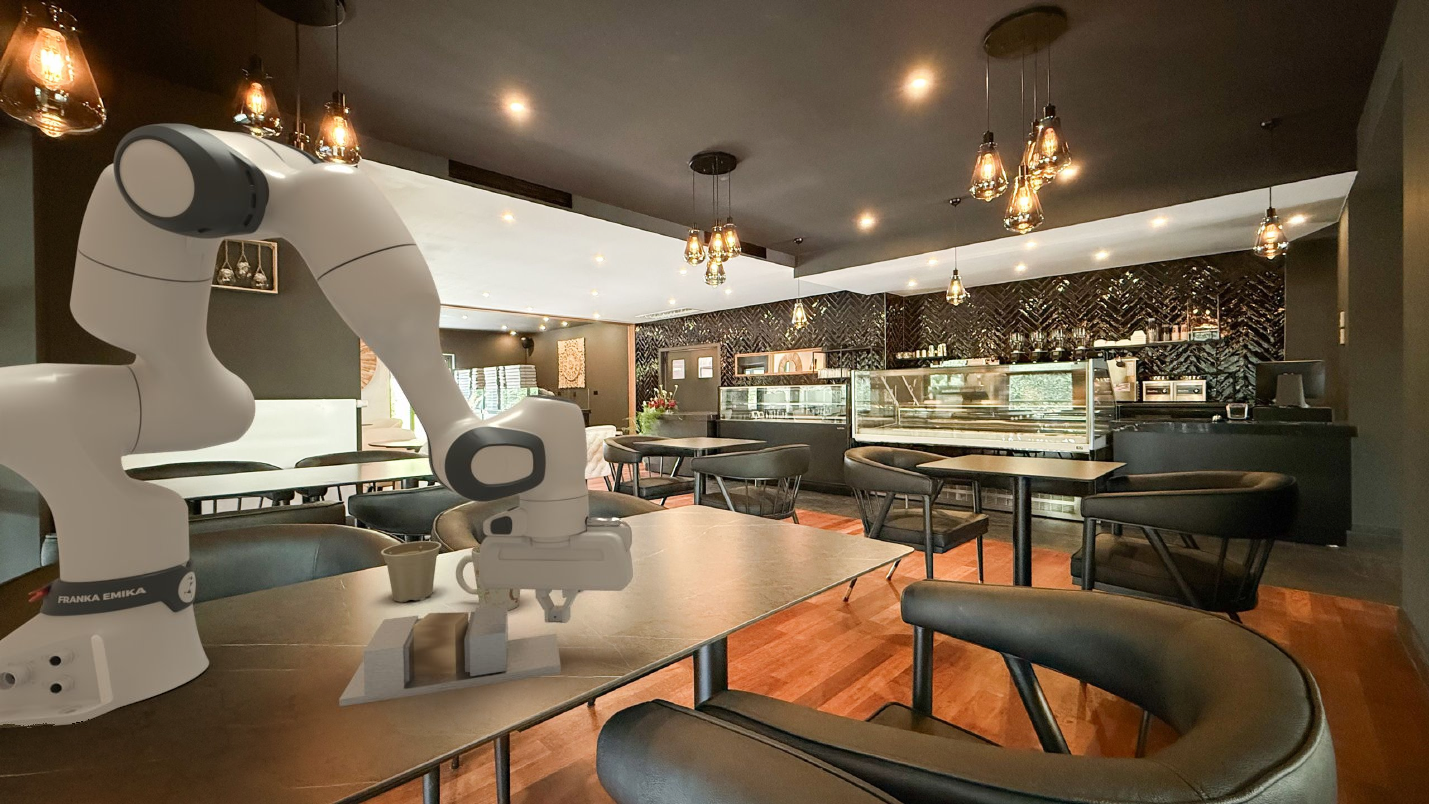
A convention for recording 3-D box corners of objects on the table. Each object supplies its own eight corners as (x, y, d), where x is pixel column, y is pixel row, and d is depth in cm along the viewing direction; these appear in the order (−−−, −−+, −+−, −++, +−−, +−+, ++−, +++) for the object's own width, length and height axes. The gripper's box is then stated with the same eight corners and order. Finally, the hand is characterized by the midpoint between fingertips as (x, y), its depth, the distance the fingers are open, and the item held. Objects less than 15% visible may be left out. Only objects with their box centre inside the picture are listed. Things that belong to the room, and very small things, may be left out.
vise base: (339, 710, 64) (338, 655, 64) (363, 670, 74) (361, 622, 74) (560, 674, 72) (559, 624, 72) (556, 642, 81) (555, 598, 81)
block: (414, 674, 70) (413, 625, 70) (430, 659, 74) (429, 613, 74) (455, 673, 70) (454, 624, 70) (469, 658, 74) (468, 612, 74)
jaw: (464, 677, 68) (464, 637, 68) (472, 643, 78) (471, 608, 78) (505, 670, 70) (505, 632, 70) (507, 638, 79) (507, 604, 79)
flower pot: (425, 605, 97) (424, 554, 97) (370, 606, 97) (369, 555, 97) (451, 587, 106) (450, 540, 106) (401, 587, 106) (400, 541, 106)
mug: (508, 617, 91) (507, 554, 91) (438, 612, 93) (437, 551, 93) (535, 599, 99) (534, 541, 99) (470, 595, 101) (469, 539, 101)
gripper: (637, 512, 78) (640, 614, 78) (495, 512, 80) (498, 610, 80) (624, 522, 72) (627, 632, 72) (470, 522, 74) (473, 628, 74)
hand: (557, 621), depth 76 cm, fingers closed
